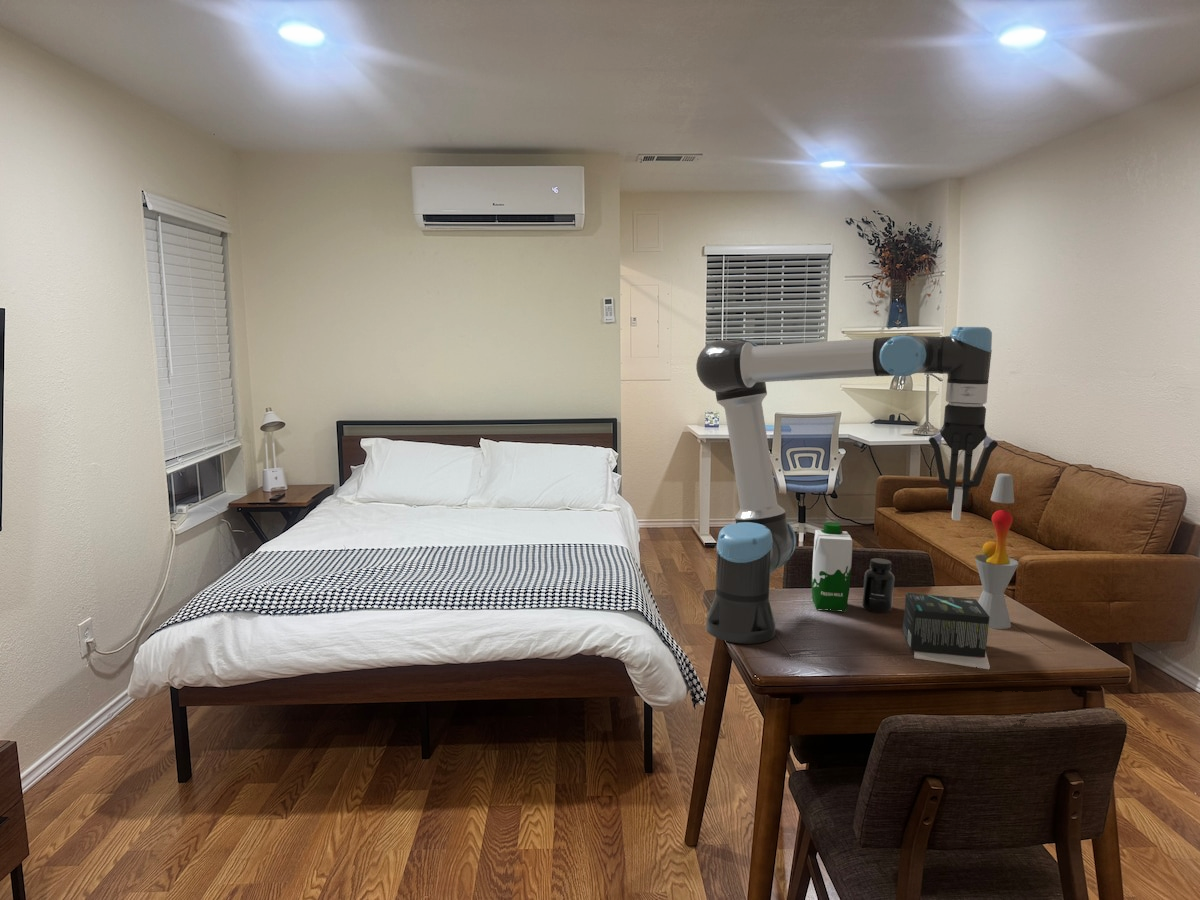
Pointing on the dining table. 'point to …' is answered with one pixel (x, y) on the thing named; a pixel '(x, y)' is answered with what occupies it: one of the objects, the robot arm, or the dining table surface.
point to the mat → (954, 659)
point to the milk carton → (831, 567)
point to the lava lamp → (997, 559)
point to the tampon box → (945, 625)
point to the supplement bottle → (878, 586)
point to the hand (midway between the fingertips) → (955, 519)
